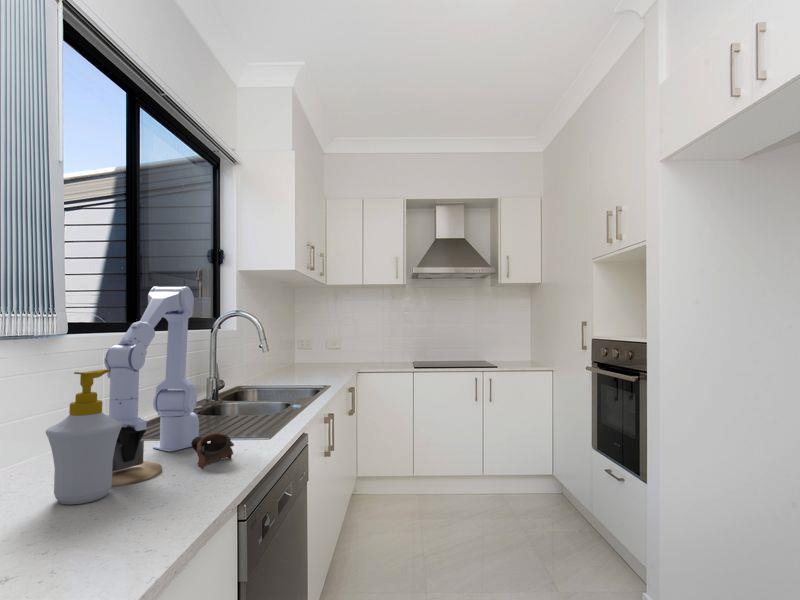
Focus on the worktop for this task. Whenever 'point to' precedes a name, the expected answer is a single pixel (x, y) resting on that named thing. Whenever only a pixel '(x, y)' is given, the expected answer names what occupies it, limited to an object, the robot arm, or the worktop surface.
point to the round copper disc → (136, 473)
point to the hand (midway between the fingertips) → (122, 459)
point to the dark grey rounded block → (119, 463)
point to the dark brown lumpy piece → (212, 448)
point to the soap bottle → (84, 447)
